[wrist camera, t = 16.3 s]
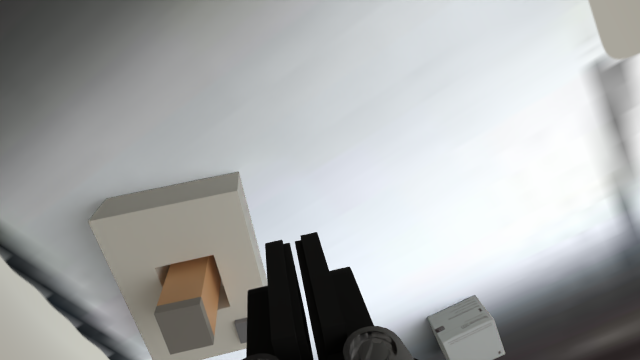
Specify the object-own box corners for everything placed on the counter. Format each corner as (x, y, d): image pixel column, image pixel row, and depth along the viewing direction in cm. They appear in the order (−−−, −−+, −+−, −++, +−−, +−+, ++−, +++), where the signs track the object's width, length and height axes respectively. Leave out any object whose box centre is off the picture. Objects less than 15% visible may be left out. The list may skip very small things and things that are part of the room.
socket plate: (106, 198, 40) (85, 224, 35) (238, 171, 41) (237, 193, 36) (166, 337, 48) (156, 374, 43) (275, 311, 49) (277, 344, 44)
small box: (474, 292, 54) (495, 318, 49) (486, 328, 57) (507, 355, 53) (425, 315, 54) (442, 343, 50) (439, 350, 57) (456, 378, 53)
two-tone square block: (174, 250, 42) (153, 313, 33) (210, 243, 43) (199, 304, 33) (186, 286, 44) (170, 354, 35) (221, 279, 45) (213, 344, 36)
